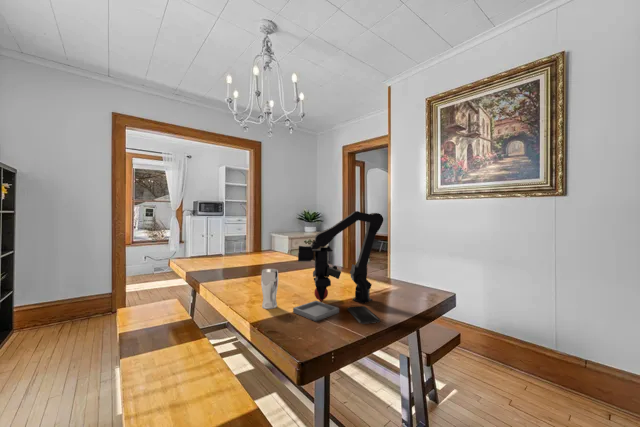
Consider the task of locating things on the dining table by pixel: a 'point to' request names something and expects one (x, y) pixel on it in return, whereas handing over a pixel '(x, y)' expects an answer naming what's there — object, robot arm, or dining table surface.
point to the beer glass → (269, 288)
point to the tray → (316, 310)
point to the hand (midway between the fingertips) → (321, 297)
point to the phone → (363, 315)
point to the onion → (318, 294)
